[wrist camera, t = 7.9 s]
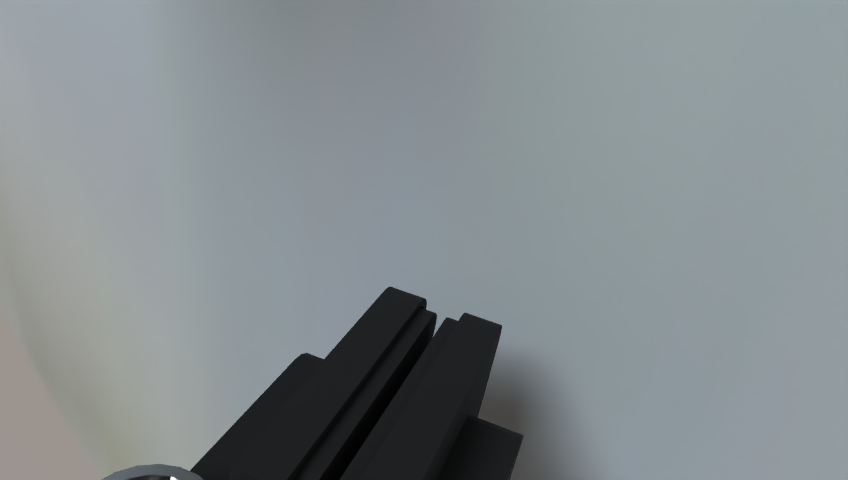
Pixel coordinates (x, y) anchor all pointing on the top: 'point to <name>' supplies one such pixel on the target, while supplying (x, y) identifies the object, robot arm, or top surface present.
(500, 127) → the top surface
